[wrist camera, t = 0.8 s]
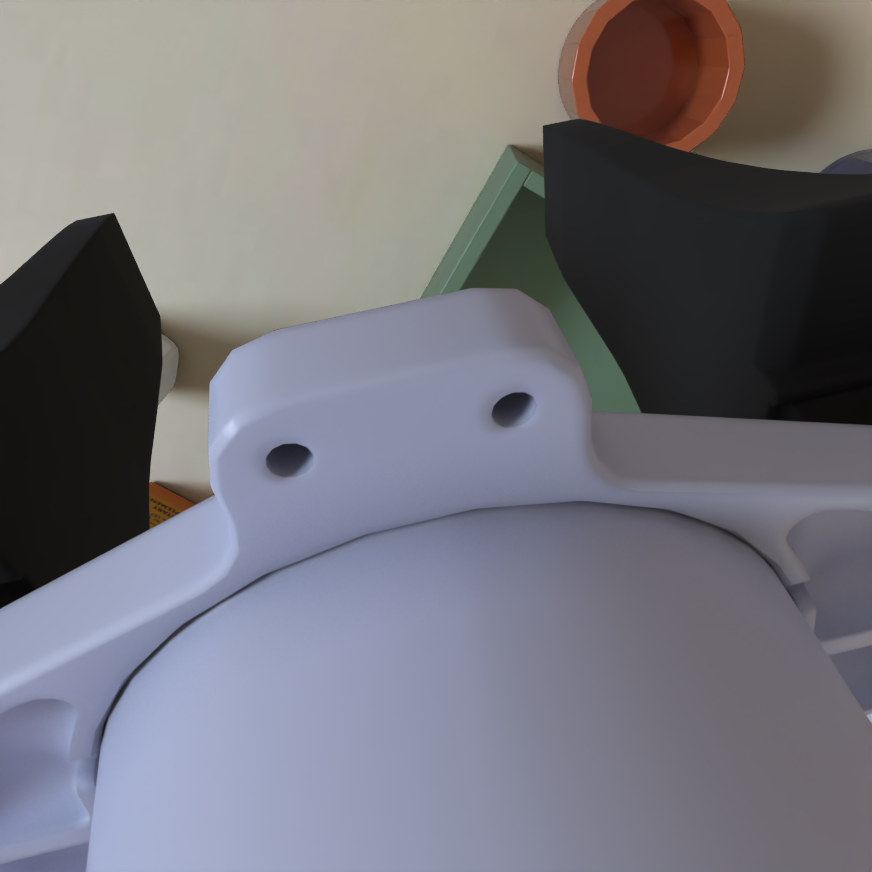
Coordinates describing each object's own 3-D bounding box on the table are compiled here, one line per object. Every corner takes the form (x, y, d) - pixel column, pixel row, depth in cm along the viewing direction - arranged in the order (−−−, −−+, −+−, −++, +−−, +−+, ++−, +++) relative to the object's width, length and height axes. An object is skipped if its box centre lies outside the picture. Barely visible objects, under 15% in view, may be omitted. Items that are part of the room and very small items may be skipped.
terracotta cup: (737, 38, 28) (780, 37, 24) (647, 174, 30) (674, 192, 26) (613, -48, 27) (638, -63, 23) (530, 100, 29) (540, 107, 25)
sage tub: (777, 309, 32) (827, 349, 28) (551, 594, 39) (563, 663, 35) (508, 143, 30) (516, 159, 25) (316, 480, 37) (296, 538, 32)
